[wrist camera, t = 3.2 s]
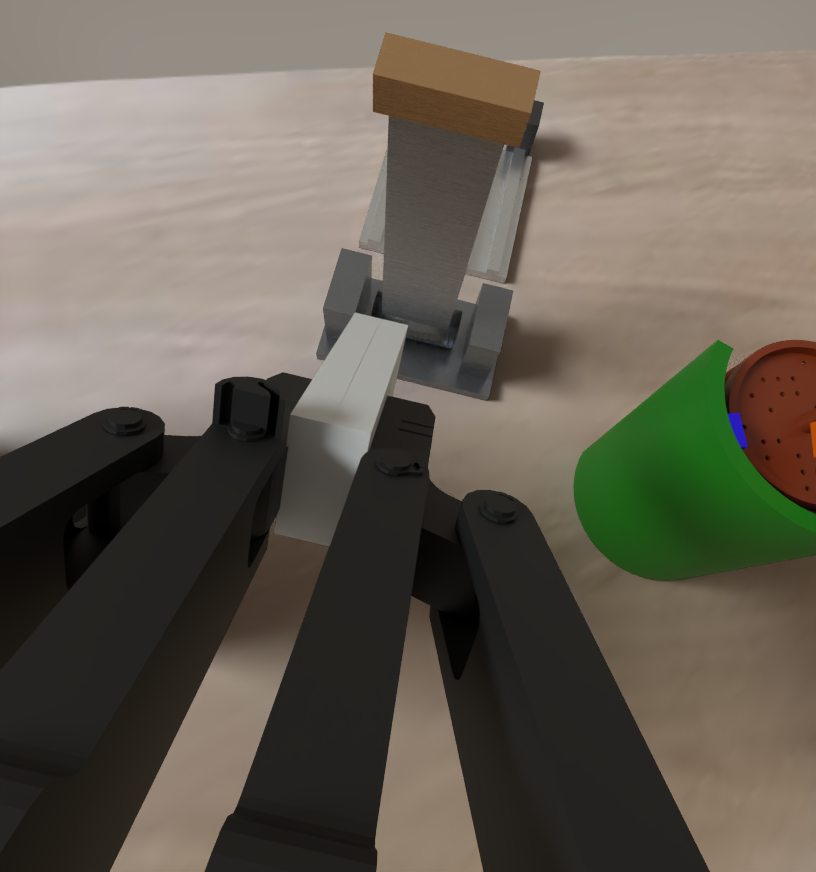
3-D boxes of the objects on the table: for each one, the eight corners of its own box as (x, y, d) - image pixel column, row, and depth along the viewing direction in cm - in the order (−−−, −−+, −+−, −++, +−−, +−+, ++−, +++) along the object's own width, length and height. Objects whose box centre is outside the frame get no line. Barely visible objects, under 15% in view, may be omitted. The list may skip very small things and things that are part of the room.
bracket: (541, 143, 46) (562, 87, 41) (486, 400, 40) (504, 370, 35) (394, 106, 46) (397, 46, 41) (317, 358, 40) (311, 322, 35)
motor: (720, 431, 40) (1046, 256, 21) (751, 574, 38) (1154, 522, 19) (565, 439, 39) (759, 264, 20) (587, 586, 37) (832, 545, 18)
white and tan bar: (459, 320, 40) (546, 61, 20) (450, 355, 39) (531, 124, 19) (379, 300, 40) (385, 21, 20) (369, 334, 39) (366, 83, 19)
